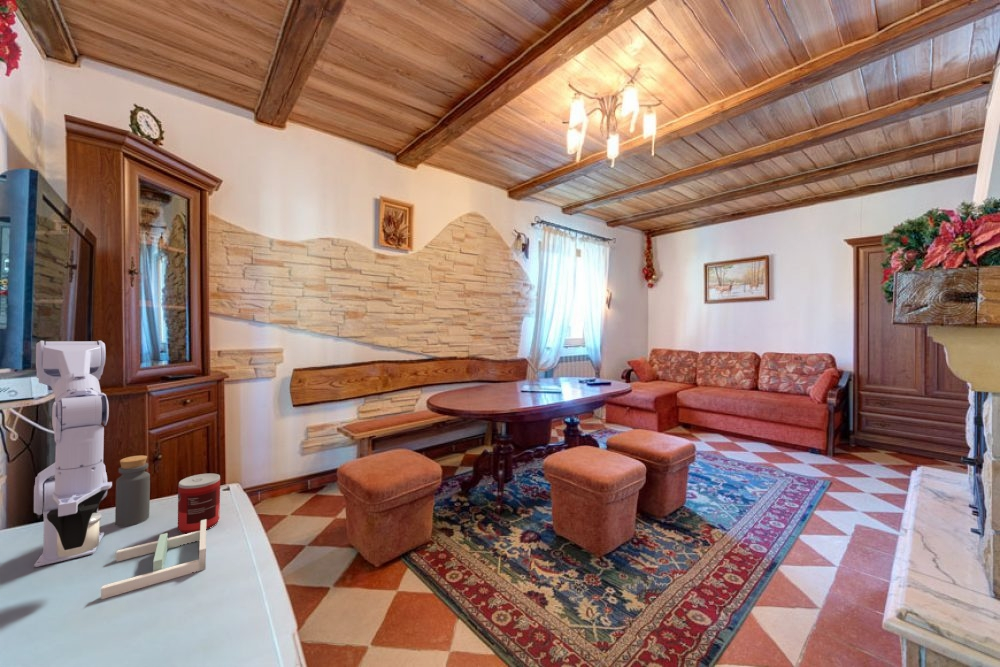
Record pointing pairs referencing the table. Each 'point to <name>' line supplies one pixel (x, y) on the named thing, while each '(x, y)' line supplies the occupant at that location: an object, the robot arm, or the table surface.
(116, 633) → the table surface
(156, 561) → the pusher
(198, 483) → the canned food
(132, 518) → the bottle
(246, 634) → the table surface
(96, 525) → the jar
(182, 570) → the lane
